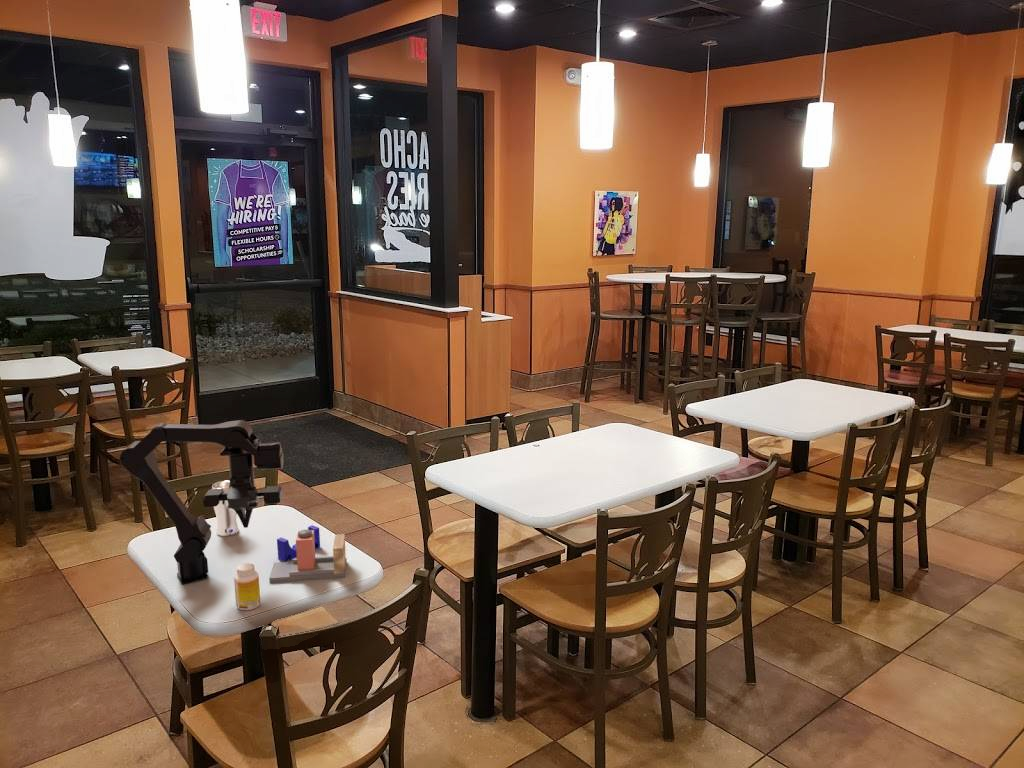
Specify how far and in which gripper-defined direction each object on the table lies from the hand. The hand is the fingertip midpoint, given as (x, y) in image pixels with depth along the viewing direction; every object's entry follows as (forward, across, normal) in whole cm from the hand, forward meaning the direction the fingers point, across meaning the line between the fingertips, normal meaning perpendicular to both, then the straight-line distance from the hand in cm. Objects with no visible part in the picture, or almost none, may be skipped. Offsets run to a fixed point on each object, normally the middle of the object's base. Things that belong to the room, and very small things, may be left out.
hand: (246, 527), depth 198 cm
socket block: (+12, +23, -2) cm, 26 cm away
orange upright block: (+12, +15, -2) cm, 19 cm away
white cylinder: (+13, -11, +28) cm, 33 cm away
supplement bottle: (+13, +3, -18) cm, 22 cm away
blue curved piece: (+13, +11, +11) cm, 21 cm away
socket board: (+13, +15, -2) cm, 20 cm away
